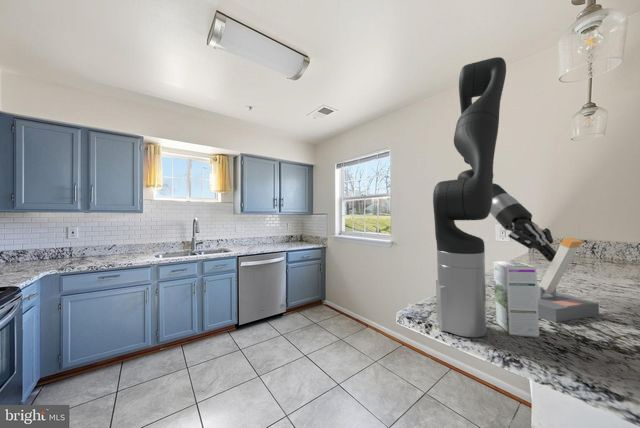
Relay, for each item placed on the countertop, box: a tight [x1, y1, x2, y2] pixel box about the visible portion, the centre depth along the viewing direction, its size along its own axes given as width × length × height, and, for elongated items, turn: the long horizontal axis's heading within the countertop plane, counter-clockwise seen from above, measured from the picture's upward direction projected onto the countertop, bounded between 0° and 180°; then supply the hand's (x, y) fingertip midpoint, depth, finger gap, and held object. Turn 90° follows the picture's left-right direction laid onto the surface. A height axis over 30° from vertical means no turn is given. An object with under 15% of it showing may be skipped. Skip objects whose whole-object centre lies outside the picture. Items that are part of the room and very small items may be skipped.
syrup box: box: [493, 260, 540, 338], centre depth 52 cm, size 6×6×14 cm
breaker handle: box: [538, 237, 583, 294], centre depth 60 cm, size 2×3×16 cm, turn 103°
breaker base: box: [537, 285, 600, 323], centre depth 63 cm, size 14×14×6 cm
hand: (555, 259), depth 61 cm, fingers closed
